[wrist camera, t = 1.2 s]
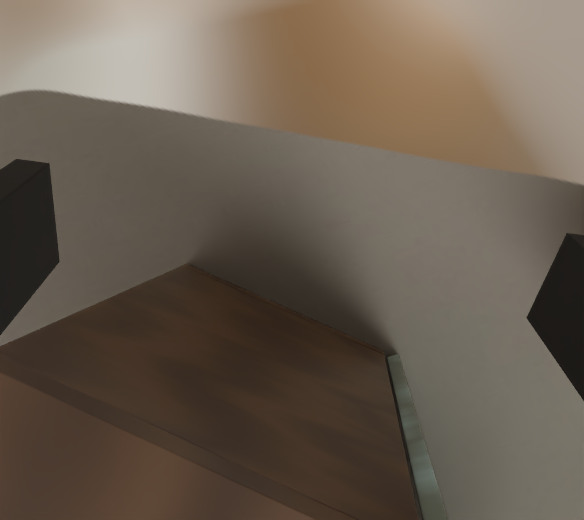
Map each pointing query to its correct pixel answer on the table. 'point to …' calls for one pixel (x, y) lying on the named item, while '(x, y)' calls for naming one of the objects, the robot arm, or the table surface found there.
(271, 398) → the cupboard
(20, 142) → the table surface
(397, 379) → the cupboard door
